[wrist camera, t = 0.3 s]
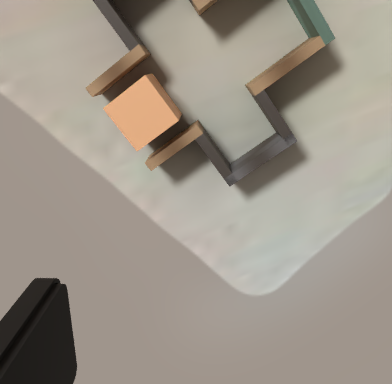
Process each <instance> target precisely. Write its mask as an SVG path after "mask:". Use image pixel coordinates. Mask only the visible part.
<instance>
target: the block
mask: <svg viewBox="0 0 392 384" xmlns="http://www.w3.org/2000/svg"><path fill="white" fill-rule="evenodd" d="M103 109H104V110H105V112H106V113H107V114H108V115H109V117H110V118H111V119H112V120H113V122H114V123H115V124H116V126H117V127H118V128H119V129H120V131H121V132H122V133H123V134H124V136H125V137H126V138H127V139H128V141H129V142H130V143H131V144H132V146H133V147H134V148H135V149H136V151H138V150H140V149H141V148H143V147H144V146H145V145H147V144H148V143H149V142H151V141H152V140H153V139H155V138H156V137H157V136H159V135H160V134H161V133H163V132H164V131H165V130H167V129H168V128H169V127H171V126H172V125H174V124H175V123H176V122H178V121H179V119H180V117H181V114H182V113H181V112H180V111H179V109H178V108H177V107H176V105H175V104H174V102H173V101H172V100H171V98H170V97H169V96H168V94H167V93H166V91H165V90H164V89H163V87H162V86H161V85H160V83H159V82H158V80H157V79H156V78H155V76H154V75H153V74H147V75H144V76H143V77H142V78H141V79H139V80H138V81H137V82H136V83H134V84H133V85H132V86H130V87H129V88H128V89H127V90H125V91H124V92H123V93H122V94H120V95H119V96H118V97H117V98H115V99H114V100H113V101H112V102H110V103H109V104H108V105H107V106H105V107H104V108H103Z"/></svg>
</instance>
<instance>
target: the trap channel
mask: <svg viewBox="0 0 392 384" xmlns="http://www.w3.org/2000/svg"><path fill="white" fill-rule="evenodd" d="M93 1H94V3H95V4H96V5H97V7H98V8H99V9H100V11H101V12H102V14H103V15H104V16H105V18H106V19H107V20H108V22H109V23H110V24H111V26H112V27H113V29H114V30H115V31H116V33H117V34H118V35H119V37H120V38H121V39H122V41H123V42H124V43H125V45H126V46H127V48H128V49H129V50H130V52H129V53H127V54H126V55H125V56H124V57H122V58H121V59H120V60H119V61H118V62H116V63H115V64H114V65H113V66H112V67H110V68H109V69H108V70H107V71H105V72H104V73H103V74H102V75H101V76H99V77H98V78H97V79H96V80H95V81H93V82H92V83H91V84H90V85H88V86H87V87H86V90H87V91H88V92H89V93H90V95H91V96H92V97H94V96H97V95H101V94H103V93H104V92H105V91H106V90H108V89H109V88H110V87H111V86H113V85H114V84H115V83H116V82H118V81H119V80H120V79H121V78H123V77H124V76H125V75H126V74H128V73H129V72H130V71H131V70H133V69H134V68H135V67H136V66H137V65H139V64H140V63H141V62H142V61H144V60H145V59H146V58H147V57H149V56H150V55H151V54H150V53H149V51H148V50H147V49H146V47H145V46H144V44H143V43H142V42H141V40H140V39H139V37H138V36H137V35H136V33H135V32H134V31H133V29H132V28H131V26H130V25H129V24H128V22H127V21H126V19H125V18H124V17H123V15H122V14H121V13H120V11H119V10H118V8H117V7H116V6H115V4H114V3H113V1H112V0H93ZM189 1H190V2H191V4H192V5H193V7H194V8H195V10H196V11H197V13H198V14H199V15H201V14H202V13H203V12H204V11H206V10H207V9H208V8H209V7H211V6H212V5H213V4H214V3H216V2H217V1H218V0H189ZM287 1H288V3H289V5H290V6H291V8H292V10H293V11H294V13H295V15H296V17H297V18H298V20H299V22H300V23H301V25H302V27H303V29H304V30H305V32H306V34H307V35H308V37H309V39H307V40H306V41H305V42H303V43H302V44H301V45H299V46H298V47H297V48H295V49H294V50H292V51H291V52H290V53H288V54H287V55H286V56H284V57H283V58H282V59H280V60H279V61H277V62H276V63H275V64H273V65H272V66H271V67H269V68H268V69H267V70H265V71H264V72H262V73H261V74H260V75H258V76H257V77H256V78H254V79H253V80H252V81H250V82H249V83H247V84H246V85H245V86H246V87H247V89H248V90H249V92H250V93H251V95H252V96H253V98H254V99H255V101H256V102H257V104H258V105H259V107H260V108H261V110H262V111H263V113H264V114H265V116H266V117H267V119H268V120H269V122H270V123H271V125H272V126H273V128H274V129H275V131H276V133H275V134H274V135H272V136H271V137H269V138H268V139H266V140H265V141H263V142H262V143H260V144H259V145H257V146H256V147H255V148H253V149H252V150H250V151H249V152H247V153H246V154H244V155H243V156H241V157H240V158H239V159H237V160H236V161H234V162H233V163H231V164H229V162H228V161H227V160H226V158H225V157H224V156H223V154H222V153H221V151H220V150H219V149H218V147H217V146H216V144H215V143H214V142H213V140H212V139H211V137H210V136H209V135H208V133H207V132H206V131H205V129H204V128H203V126H202V125H201V124H200V122H199V121H198V120H197V121H196V122H194V123H193V124H191V125H190V126H189V127H187V128H186V129H185V130H183V131H182V132H181V133H179V134H178V135H176V136H175V137H174V138H172V139H171V140H170V141H168V142H167V143H166V144H164V145H163V146H161V147H160V148H159V149H157V150H156V151H155V152H153V153H152V154H151V155H150V156H149V157H148V159H147V161H146V162H145V164H146V165H147V166H148V168H149V169H150V170H151V171H152V170H153V169H155V168H156V167H157V166H159V165H160V164H161V163H163V162H164V161H166V160H167V159H168V158H170V157H171V156H173V155H174V154H175V153H177V152H178V151H180V150H181V149H182V148H184V147H185V146H186V145H188V144H189V143H191V142H192V141H193V140H196V141H197V143H198V144H199V146H200V147H201V148H202V150H203V151H204V152H205V154H206V155H207V156H208V158H209V159H210V161H211V162H212V163H213V165H214V166H215V167H216V169H217V170H218V171H219V173H220V174H221V175H222V177H223V178H224V180H225V181H226V182H227V184H228V185H229V186H231V185H233V184H234V183H236V182H237V181H239V180H240V179H242V178H243V177H245V176H246V175H247V174H249V173H250V172H252V171H253V170H255V169H256V168H258V167H259V166H261V165H262V164H264V163H265V162H267V161H268V160H270V159H271V158H273V157H274V156H276V155H277V154H279V153H280V152H282V151H283V150H285V149H286V148H288V147H289V146H291V145H292V144H294V143H295V142H297V140H296V138H295V137H294V135H293V134H292V132H291V130H290V129H289V127H288V126H287V124H286V123H285V121H284V120H283V118H282V117H281V115H280V113H279V112H278V110H277V109H276V107H275V106H274V104H273V103H272V101H271V100H270V98H269V96H268V95H267V93H266V92H265V90H264V89H266V88H267V87H268V86H270V85H271V84H272V83H274V82H275V81H277V80H278V79H279V78H281V77H282V76H284V75H285V74H286V73H288V72H289V71H291V70H292V69H293V68H295V67H296V66H297V65H299V64H300V63H302V62H303V61H304V60H306V59H307V58H309V57H310V56H311V55H313V54H314V53H316V52H317V51H318V50H320V49H321V48H322V47H324V46H325V45H327V44H328V43H329V42H331V41H332V40H334V39H335V37H334V35H333V33H332V31H331V30H330V28H329V26H328V24H327V23H326V21H325V19H324V17H323V15H322V14H321V12H320V10H319V8H318V7H317V5H316V3H315V1H314V0H287Z"/></svg>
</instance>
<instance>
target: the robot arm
mask: <svg viewBox="0 0 392 384" xmlns="http://www.w3.org/2000/svg"><path fill="white" fill-rule="evenodd" d="M76 371H77V363H76V355H75V347H74V338H73V331H72V323H71V315H70V308H69V300H68V292H67V287H66V285H65V284H61V283H60V281H59V279H57V278H36V279H34V280H33V281H32V282H31V283H30V285H29V286H28V287H27V288H26V290H25V291H24V292H23V293H22V295H21V296H20V297H19V298H18V300H17V301H16V302H15V303H14V305H13V306H12V307H11V309H10V310H9V311H8V312H7V313H6V315H5V316H4V317H3V318H2V320H1V321H0V384H73V382H74V379H75V376H76Z"/></svg>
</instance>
